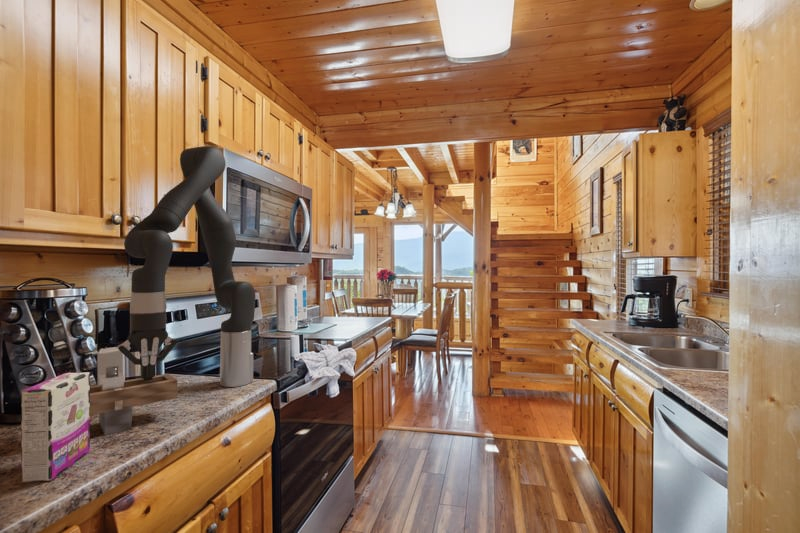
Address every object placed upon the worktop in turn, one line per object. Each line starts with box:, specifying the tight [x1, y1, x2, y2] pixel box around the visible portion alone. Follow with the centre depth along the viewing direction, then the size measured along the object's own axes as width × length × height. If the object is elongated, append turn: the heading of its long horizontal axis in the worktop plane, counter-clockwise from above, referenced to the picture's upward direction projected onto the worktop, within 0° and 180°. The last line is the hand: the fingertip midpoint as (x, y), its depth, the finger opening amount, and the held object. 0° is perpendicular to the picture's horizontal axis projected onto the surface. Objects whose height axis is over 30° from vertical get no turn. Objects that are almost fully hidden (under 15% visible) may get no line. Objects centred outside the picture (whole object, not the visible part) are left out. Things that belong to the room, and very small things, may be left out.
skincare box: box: [96, 346, 126, 385], centre depth 107 cm, size 8×6×15 cm
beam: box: [89, 373, 178, 436], centre depth 91 cm, size 24×9×10 cm, turn 135°
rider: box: [100, 366, 124, 392], centre depth 90 cm, size 4×4×7 cm
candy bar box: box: [20, 371, 91, 484], centre depth 73 cm, size 11×5×16 cm, turn 9°
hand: (147, 379), depth 96 cm, fingers closed
